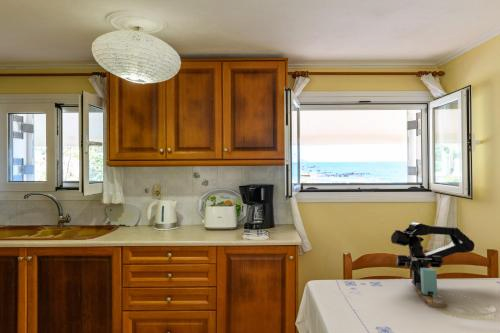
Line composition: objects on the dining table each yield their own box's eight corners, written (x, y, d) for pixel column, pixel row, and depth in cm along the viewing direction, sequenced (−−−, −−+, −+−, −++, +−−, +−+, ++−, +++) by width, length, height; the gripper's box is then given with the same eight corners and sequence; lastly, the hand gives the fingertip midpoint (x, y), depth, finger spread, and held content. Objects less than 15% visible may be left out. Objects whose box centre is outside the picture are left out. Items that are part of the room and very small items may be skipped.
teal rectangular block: (421, 291, 142) (420, 267, 142) (434, 292, 141) (433, 268, 141) (424, 294, 138) (423, 270, 138) (437, 295, 137) (436, 270, 137)
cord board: (415, 290, 148) (414, 281, 149) (430, 291, 147) (430, 282, 147) (429, 306, 129) (428, 296, 130) (447, 307, 128) (446, 296, 128)
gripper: (433, 257, 160) (442, 288, 149) (392, 256, 164) (398, 286, 153) (438, 244, 153) (448, 275, 141) (395, 243, 156) (401, 273, 145)
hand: (423, 278), depth 145 cm, fingers closed
